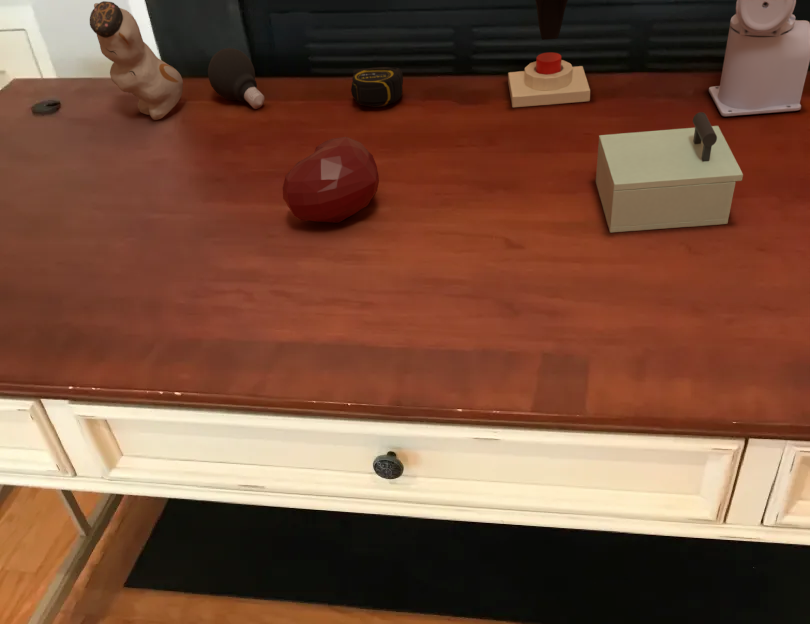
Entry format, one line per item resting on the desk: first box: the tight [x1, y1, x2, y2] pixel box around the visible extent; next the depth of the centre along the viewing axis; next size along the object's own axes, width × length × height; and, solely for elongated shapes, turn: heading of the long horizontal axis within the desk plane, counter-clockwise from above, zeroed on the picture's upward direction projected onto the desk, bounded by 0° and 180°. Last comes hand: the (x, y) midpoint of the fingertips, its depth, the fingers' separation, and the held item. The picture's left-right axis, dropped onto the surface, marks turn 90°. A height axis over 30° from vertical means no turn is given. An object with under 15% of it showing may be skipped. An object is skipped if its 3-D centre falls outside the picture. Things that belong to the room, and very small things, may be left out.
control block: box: [507, 59, 591, 109], centre depth 118 cm, size 10×8×3 cm
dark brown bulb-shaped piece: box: [207, 47, 265, 110], centre depth 124 cm, size 6×6×10 cm
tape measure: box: [350, 66, 404, 108], centre depth 120 cm, size 7×7×4 cm
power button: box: [535, 51, 562, 75], centre depth 117 cm, size 3×3×2 cm
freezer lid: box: [598, 111, 744, 191], centre depth 93 cm, size 13×11×4 cm
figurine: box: [89, 0, 184, 121], centre depth 120 cm, size 9×10×15 cm
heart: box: [282, 136, 380, 224], centre depth 100 cm, size 12×8×10 cm
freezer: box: [595, 143, 737, 233], centre depth 96 cm, size 12×11×5 cm
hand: (549, 37), depth 114 cm, fingers closed
